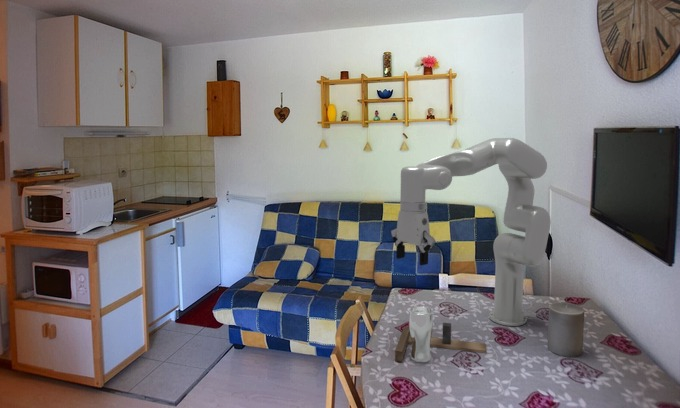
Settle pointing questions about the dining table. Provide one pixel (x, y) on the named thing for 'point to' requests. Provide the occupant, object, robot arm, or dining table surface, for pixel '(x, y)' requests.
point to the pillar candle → (565, 329)
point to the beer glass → (421, 333)
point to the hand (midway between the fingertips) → (411, 261)
